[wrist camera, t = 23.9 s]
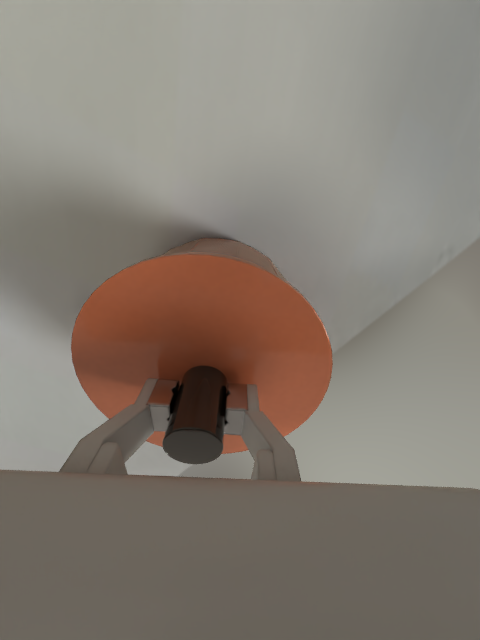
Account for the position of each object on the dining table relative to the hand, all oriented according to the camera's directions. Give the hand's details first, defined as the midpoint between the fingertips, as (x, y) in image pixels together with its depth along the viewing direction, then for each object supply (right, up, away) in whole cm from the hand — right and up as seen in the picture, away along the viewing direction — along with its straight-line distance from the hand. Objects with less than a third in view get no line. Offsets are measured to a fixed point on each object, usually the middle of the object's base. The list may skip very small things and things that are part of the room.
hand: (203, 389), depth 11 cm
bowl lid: (0, 0, +1) cm, 1 cm away
